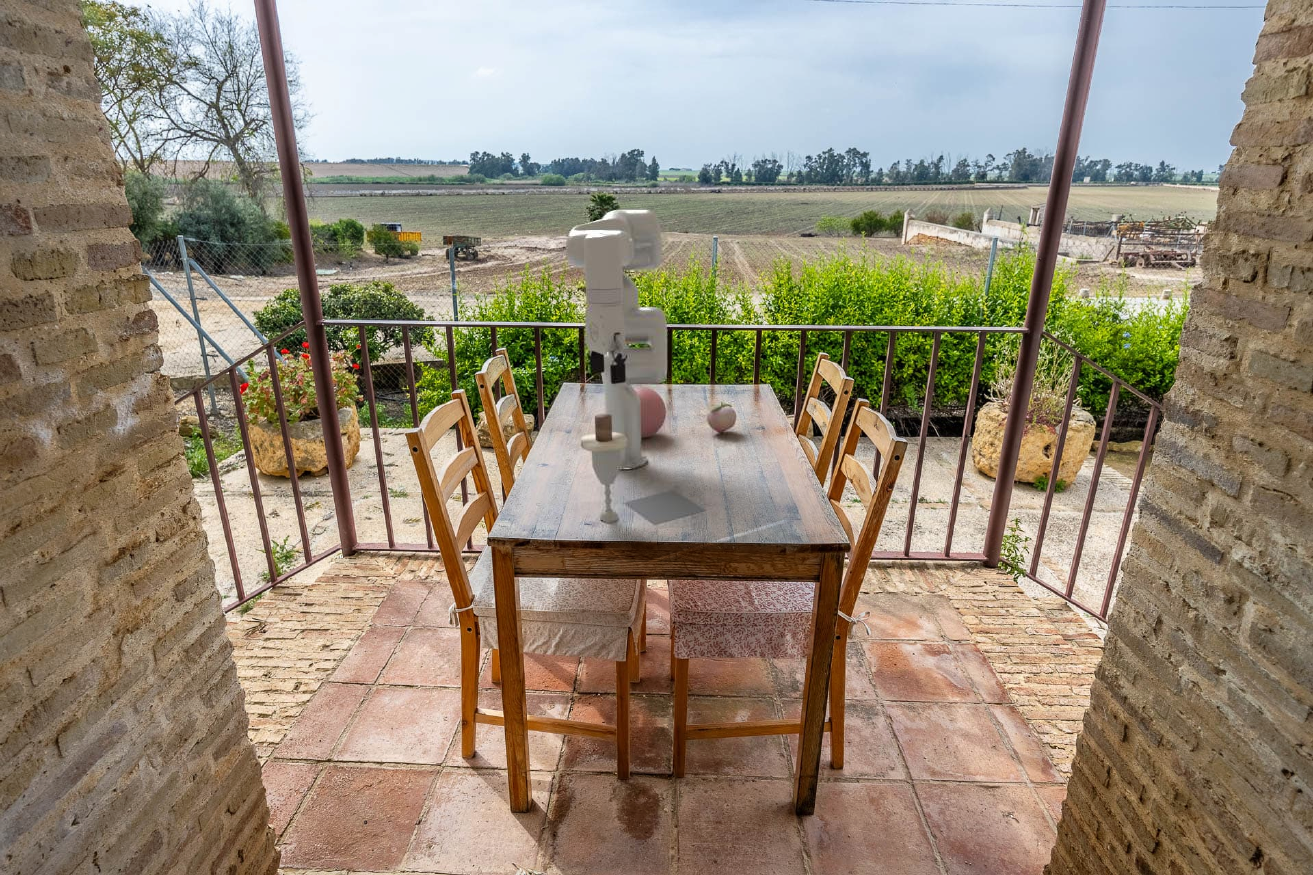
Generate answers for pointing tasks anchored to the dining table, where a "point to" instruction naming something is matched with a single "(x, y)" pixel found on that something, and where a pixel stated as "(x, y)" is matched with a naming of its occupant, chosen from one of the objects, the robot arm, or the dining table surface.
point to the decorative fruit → (721, 417)
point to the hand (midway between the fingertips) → (607, 377)
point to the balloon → (650, 411)
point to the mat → (664, 507)
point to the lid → (603, 436)
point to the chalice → (607, 478)
